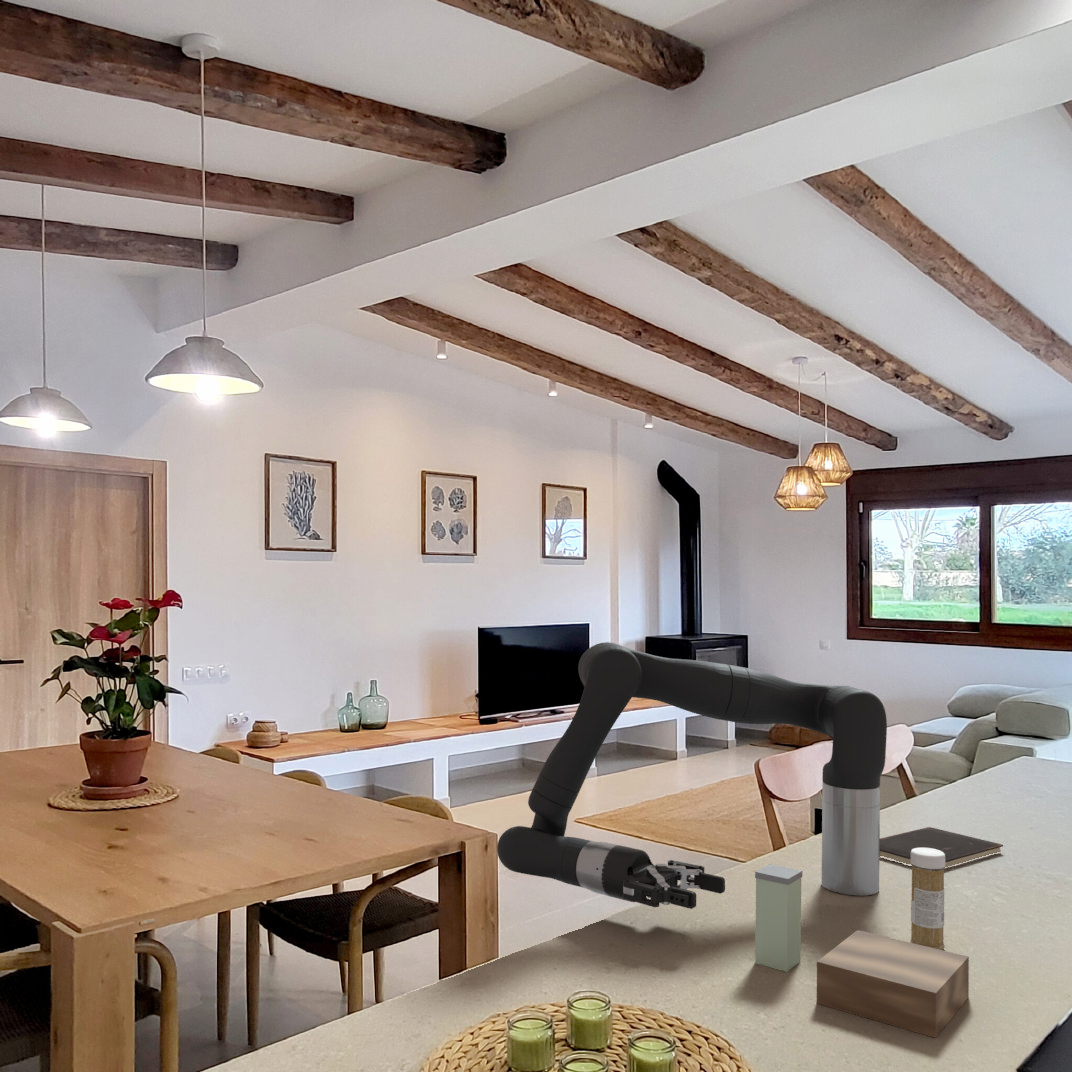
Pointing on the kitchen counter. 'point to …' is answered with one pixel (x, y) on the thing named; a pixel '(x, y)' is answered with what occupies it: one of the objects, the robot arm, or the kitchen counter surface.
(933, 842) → the hardcover book
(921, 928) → the sprinkles bottle
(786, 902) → the green tin canister
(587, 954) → the kitchen counter surface
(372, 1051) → the kitchen counter surface
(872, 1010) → the walnut block
